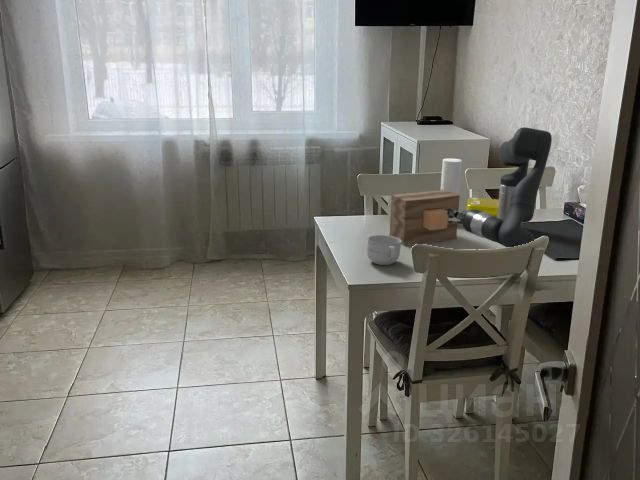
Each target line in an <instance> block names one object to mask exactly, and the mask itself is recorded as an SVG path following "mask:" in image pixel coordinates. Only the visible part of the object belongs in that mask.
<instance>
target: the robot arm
mask: <svg viewBox="0 0 640 480" xmlns="http://www.w3.org/2000/svg"><path fill="white" fill-rule="evenodd" d="M515 131H516V132H515V133H514V135H513V137H512V138H511V139H509V140H507V141H504V142H502V144H501V146H500V148H499V151H498V160H499V162H500V164H501V165H502V166H504V167H514V168H516V170H514V171H512V172H510V173H507V174H503V175H502V176H501V177H500V184H499V195H498V199H499V202H498V212H497V217H494V216H492V215H490V214H488V213H485V212H482V211H480V210H477V209H473V210H470V211H467V209H464V210H460V209H459V210H455V209H453V208H450V209H448V210H447V214H448V215H449V219H448V223H452V222H454V221H456V222H457V223H458V225H459V224H460V226H463V228H464V230H465V231H466V232H468V233H469V234H472V235H476V236H478V237H480V238H483V239H486V240H489V241H491V242H494V243H497V244H500V245H501V246H503V247H505V248H507V247H514V246H518V245H522V244H526V243H529V242H531V241H534V240H535V236H534V235H533V234H532V232H531V231H529V230H528V229H526V228H525V227H523V223H524V224H525V223H529V222H530V221H531V220H532V219H533V218H534V215H535V208H536V203H537V202H536V201H537V196H538V191H539V188H540V184H541V182H542V179H543V177H544V176H543V175H544V172H545V169H546V166H547V162H548V158H549V155H550V152H551V147H552V142H553V139H552V138H553V137H552V134H551V132H550V131H547V130H541V129H537V128H531V127H526V126H525V127H520V128H518V129H517V130H515ZM530 161H535V163H534V165H533V168H532V169H531V170H530V171H529V172H528V170H529V165H530V164H529V163H530Z"/></svg>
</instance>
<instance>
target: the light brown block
mask: <svg viewBox="0 0 640 480" xmlns="http://www.w3.org/2000/svg"><path fill="white" fill-rule="evenodd" d="M447 223H448V214H447V211H446V210H443V209H441V208H434V209H424V210H423V223H422V227H424V228H426V229H428V230H437V229H445V228H447Z"/></svg>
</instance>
